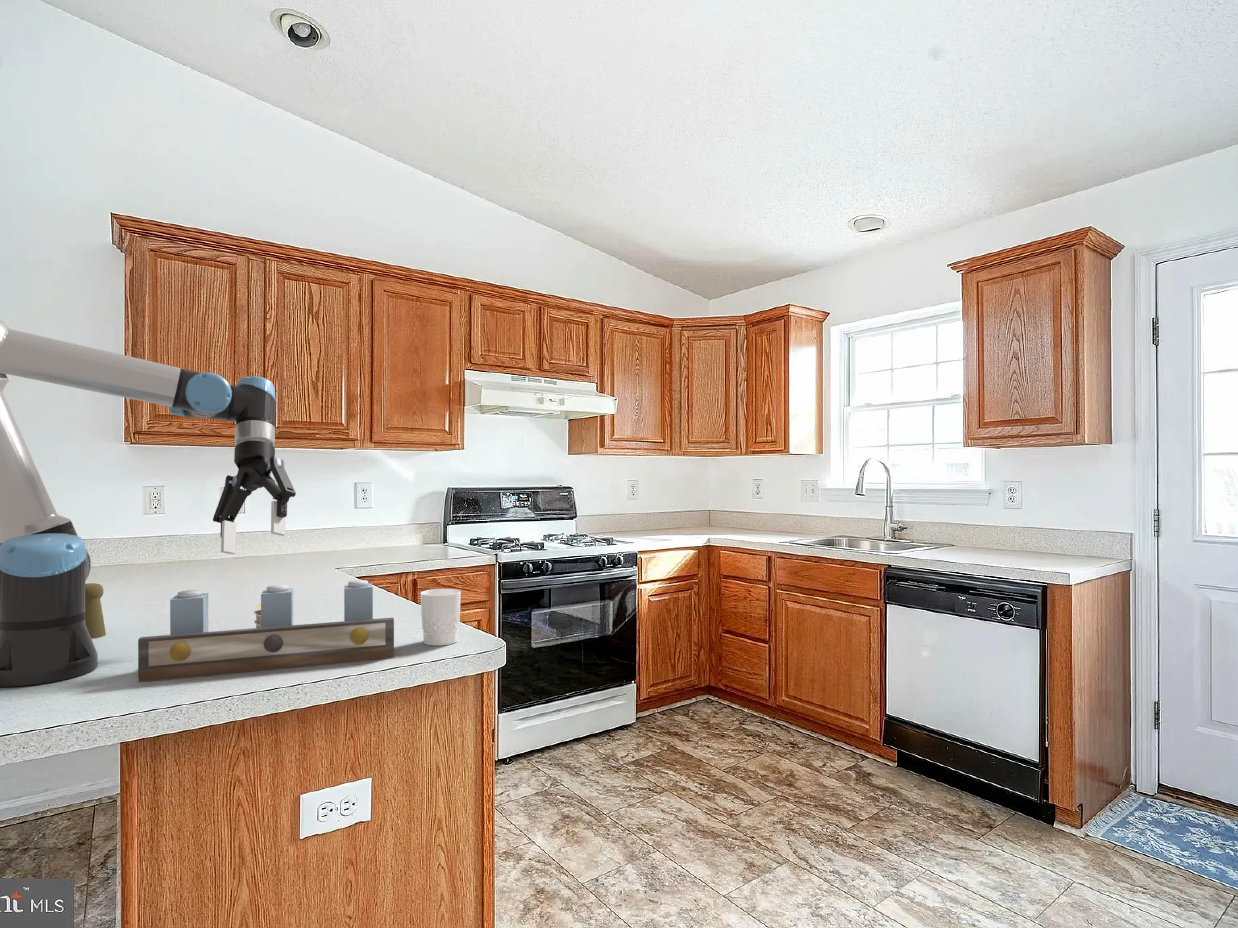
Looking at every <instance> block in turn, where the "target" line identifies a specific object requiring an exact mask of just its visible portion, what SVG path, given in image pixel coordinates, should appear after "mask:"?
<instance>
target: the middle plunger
mask: <svg viewBox="0 0 1238 928" xmlns="http://www.w3.org/2000/svg"><path fill="white" fill-rule="evenodd" d="M260 604H261V609H260V610H261V628H265V627H278V626H290V625H294V588H293V587H289V585H288V584H276V585H269V586H267V587H266V589H263V590H262V592H261V593H260Z"/></svg>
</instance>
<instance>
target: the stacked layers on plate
mask: <svg viewBox="0 0 1238 928" xmlns="http://www.w3.org/2000/svg"><path fill="white" fill-rule="evenodd" d="M254 607H255V608H256V609H258V610H255V611H254V612H253V614H255V617H256V618H255V620H254V621H253V622H254V624H255V628H261V603H260V604H255V605H254Z"/></svg>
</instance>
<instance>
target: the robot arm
mask: <svg viewBox="0 0 1238 928" xmlns="http://www.w3.org/2000/svg"><path fill="white" fill-rule="evenodd" d="M7 375H9V376H15V377H20V378H25V379H29V380H34V381H39V382H40V381H41V382H45V383H50V384H55V385H59V386H65V387H70V388H75V389H80V390H84V391H89V392H90V391H91V392H95V393H99V394H105V395H110V396H116V397H120V398H125V399H129V400H135V401H141V402H145V403H150V404H153V405H155V404H156V405H160V406H165V407H168V412H169V413H170V414H171V415H173V416H178V417H179V416H180V417H185V418H186V419H187V418H188V419H190V418H195V419H205V420H217V421H218V420H219V421H226V422H234V423H235V430H234V445H235V446H234V457H233V461H234V464H235V466H236V467H237V469H238V470H237V473H236V475H229V474H227V475H226V477H225V482H224V486H223V487H224V488H223V490H222V494H221V495H220V498H219V501H218V504H217V506H216V509H215V510H214V511H215V512H214V514H213V516H212V517H213V518H212V521H213V522H215V523H219V524H220V534H219V535H220V538H221V540H220V541H221V543H220V545H221V546H220V552H221V553H225V554H230V555H234V554H236V553H237V551H236V550H237V549H236V546H237V522H235V520H236V518H237V517H238V515H239V512H240V511H241V509H242V507H243V505H244V503H245V501H246V500H247V498H248V497H249V496H251V495H252V493H253V492H254V491H257V490H258V489H261V488H264V489H265V490H266V491H267V492H268V493H269V494H270V495H271V497H272V498H271V499H272V500H273V501H271V502H270V503H271V504H270V505H271V506H270V509H271V510H270V512H271V513H270V534H273V535H278V536H281V537H283V536H285V535H286V518H287V516H288V503H289V500H290V498H294V497H295V496H296V495H297V493H296V490H295V488H294V485H293V484H292V481H291V480H290V477H289V474H287V471H286V469H285V461H284V459H281V458H278V457H276V456H275V455H276V448H275V447H276V446H275V445H276V404H277V399H276V388H275V385H274V383H273V382H272V381H270V380H269V379H267V378H265V377H262V376H255V375H253V376H244V377H241V378H240V379H239V380H238V381H237V383H236V385H231V384H230V383H229V382H228V381H227V379H226V378H224V377H223V376H221V375H219V374H217V373H215V372H208V371H206V372H199V371H194V370H189V369H186V368H185V369H184V368H181V367H177V366H172V365H168V364H164V363H161V362H155V361H151V360H146V359H142V358H138V357H133V356H129V355H125V354H120V353H117V352H111V351H107V350H103V349H99V348H94V347H90V346H86V345H81V344H77V343H72V342H68V341H65V340H59V339H54V338H50V337H47V336H41V335H38V334H34V333H29V332H25V331H20V330H15V329H11V328H10V327H9V326H8V325H7V323H5V322H4V321H3V320H1V319H0V687H1V688H2V687H5V688H6V687H23V686H25V687H26V686H33V685H40V684H46V683H52V682H59V681H63V680H68V679H71V678H75V677H78V676H83V675H85V674H87V673H91V672H92V671H94V670H96V669H97V668H98V666H99V655H98V654H99V653H98V652H97V651H98V650H97V649H96V646H95V644H94V642H93V640H92V639H91V637H90V634H89V632H88V629H87V627H86V624H85V584H86V581H87V579H88V578H89V576H90V573H91V568H92V564H91V563H92V561H91V556H90V553H89V551H88V549H87V548H86V545H85V544H86V543H85V541H84V539H83V538H82V537H81V536H79V535H78V533H77V531H76V529H75V527H74V524H73V522H72V520H71V518H68V517H65V516H63V515H60V514H58V513H57V511H56V509H55V506H54V504H53V502H52V499H51V497H50V495H49V493H48V491H47V489H46V486H45V484H44V481H43V479H42V478H41V475H40V472H39V471H38V468H37V466H36V464H35V462H34V459H33V457H32V455H31V453H30V451H29V450H30V449H29V448H28V446H27V444H26V440H25V439H24V437H23V435H22V432H21V430H20V428H19V426H18V425H19V424H17V422H16V420H15V417H14V414H13V413H12V410H11V407H10V406H9V403H8V401H7V399H6V396H5V395H4V390H5V388H6V387H7V384H8V383H9V381H10V380H9V378H8V376H7ZM271 473H272V475H273V477H272V476H271ZM241 487H242V488H241Z"/></svg>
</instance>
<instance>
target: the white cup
mask: <svg viewBox="0 0 1238 928" xmlns="http://www.w3.org/2000/svg"><path fill="white" fill-rule="evenodd" d="M461 596H462V591H461V590H460V589H456V588H455V589H454V588H435V589H427V590H424V591H421V592H420V610H421V615H420V616H421V626H422V628H421V629H422V632H423V633H422V634H423V644H424V645H427V646H432V647H434V646H435V647H437V646H440V647H441V646H448V645H453V644H456V643H457V642H458V641H459V631H460V629H459V628H460V621H461V619H460V617H461V599H462V597H461Z"/></svg>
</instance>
